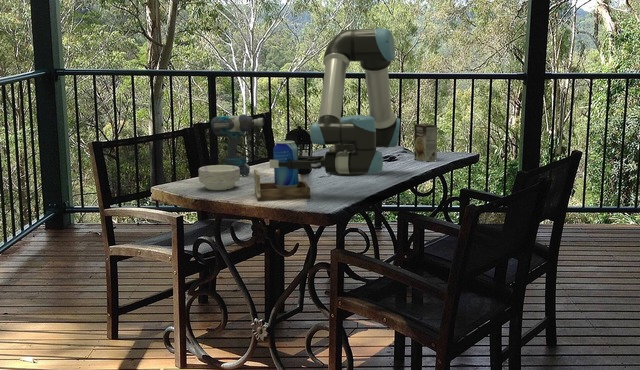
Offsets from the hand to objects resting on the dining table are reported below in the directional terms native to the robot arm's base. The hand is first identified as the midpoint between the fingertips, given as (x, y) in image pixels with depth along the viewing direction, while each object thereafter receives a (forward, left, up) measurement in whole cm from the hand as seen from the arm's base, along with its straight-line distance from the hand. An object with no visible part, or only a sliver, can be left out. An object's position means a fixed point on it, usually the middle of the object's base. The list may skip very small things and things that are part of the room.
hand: (272, 162), depth 274 cm
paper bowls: (+18, -20, -12) cm, 30 cm away
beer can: (-4, +2, -9) cm, 10 cm away
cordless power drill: (+9, -48, -12) cm, 51 cm away
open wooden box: (-3, +2, -12) cm, 12 cm away
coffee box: (-74, -64, -12) cm, 98 cm away
